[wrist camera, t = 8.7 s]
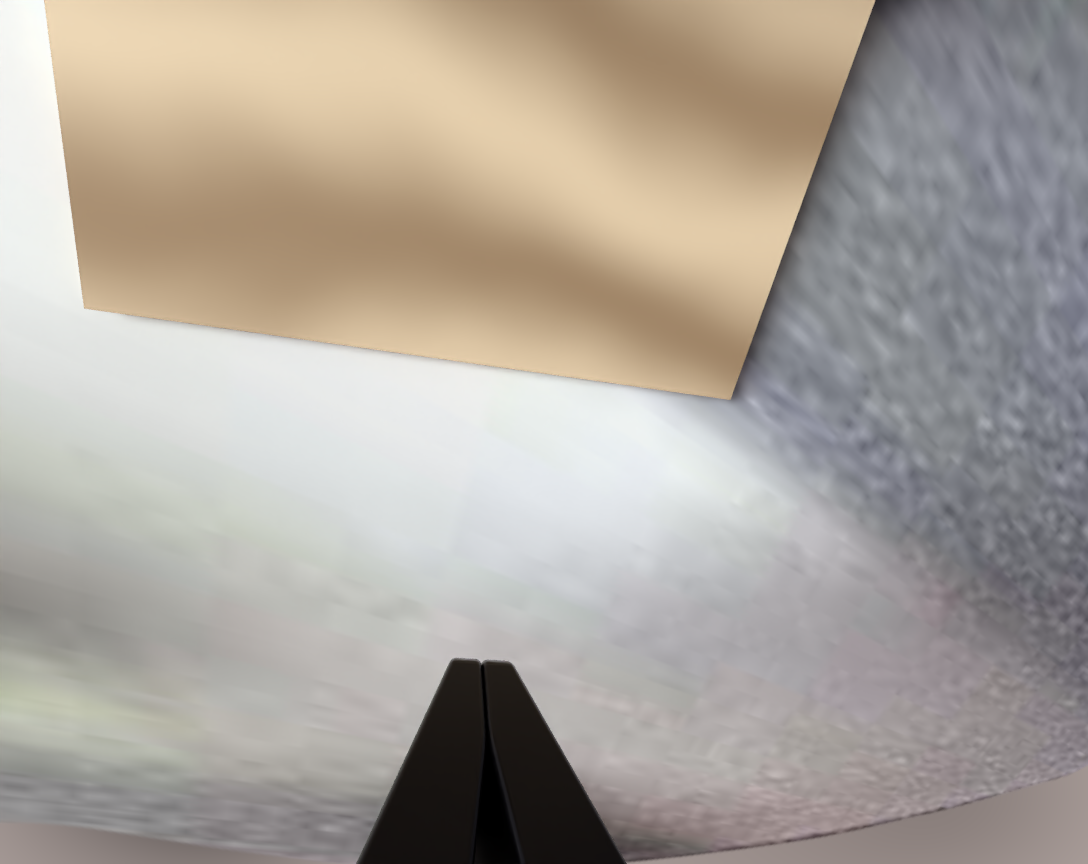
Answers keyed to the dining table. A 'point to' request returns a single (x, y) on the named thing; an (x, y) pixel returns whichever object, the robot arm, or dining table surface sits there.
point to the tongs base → (452, 171)
